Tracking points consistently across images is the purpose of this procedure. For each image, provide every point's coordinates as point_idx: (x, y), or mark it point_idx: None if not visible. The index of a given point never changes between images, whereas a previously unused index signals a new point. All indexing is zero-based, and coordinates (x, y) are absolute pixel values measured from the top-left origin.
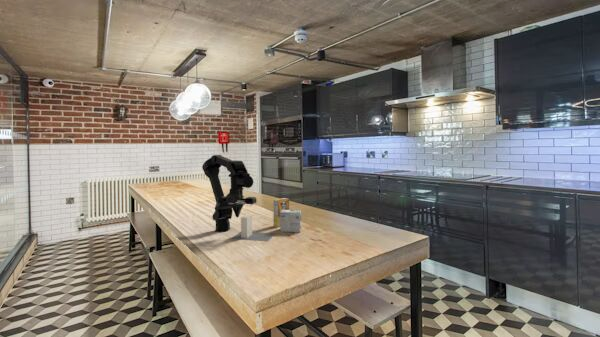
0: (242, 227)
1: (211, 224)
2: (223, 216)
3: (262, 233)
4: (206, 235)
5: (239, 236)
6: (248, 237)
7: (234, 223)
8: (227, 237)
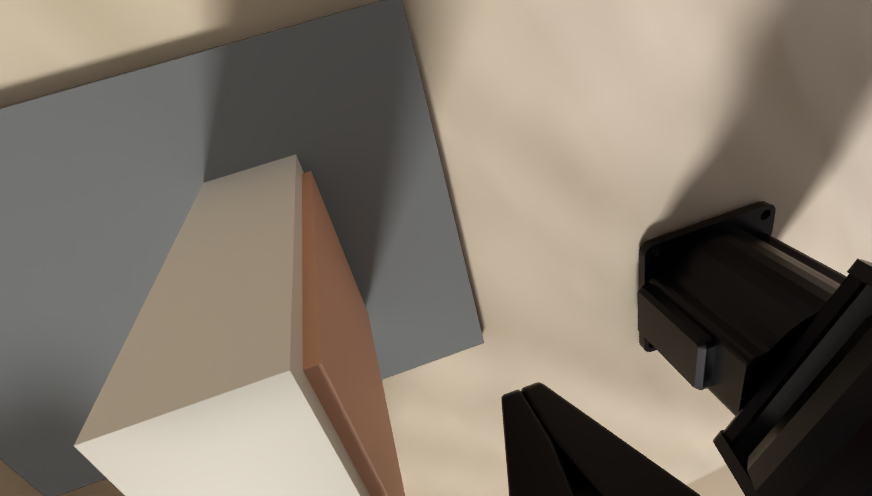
0: (266, 228)
1: None
2: (841, 361)
3: None
4: (806, 36)
5: (360, 180)
6: None
7: (686, 471)
8: (508, 90)
